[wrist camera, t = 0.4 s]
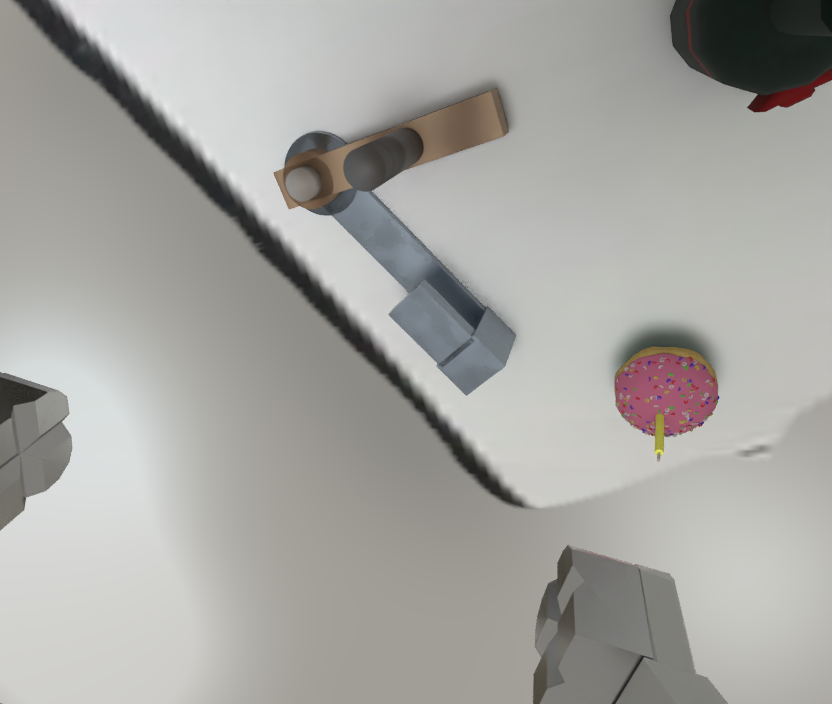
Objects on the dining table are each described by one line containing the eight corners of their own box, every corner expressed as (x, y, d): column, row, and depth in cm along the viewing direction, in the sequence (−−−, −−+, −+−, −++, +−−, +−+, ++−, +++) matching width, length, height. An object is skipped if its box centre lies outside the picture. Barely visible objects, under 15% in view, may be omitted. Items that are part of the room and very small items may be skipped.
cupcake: (688, 418, 58) (701, 500, 48) (600, 390, 60) (596, 464, 50) (728, 342, 54) (752, 415, 44) (633, 314, 55) (634, 378, 45)
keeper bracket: (273, 173, 59) (238, 187, 54) (317, 113, 56) (283, 122, 50) (471, 370, 63) (456, 402, 58) (525, 327, 59) (515, 358, 54)
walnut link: (304, 210, 59) (234, 249, 49) (282, 159, 57) (205, 189, 47) (511, 140, 51) (481, 170, 40) (493, 78, 49) (457, 92, 38)
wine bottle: (703, 123, 47) (794, 235, 22) (652, -7, 44) (689, -53, 19) (817, 67, 43) (1089, 123, 18) (770, -79, 41) (1012, -254, 15)
